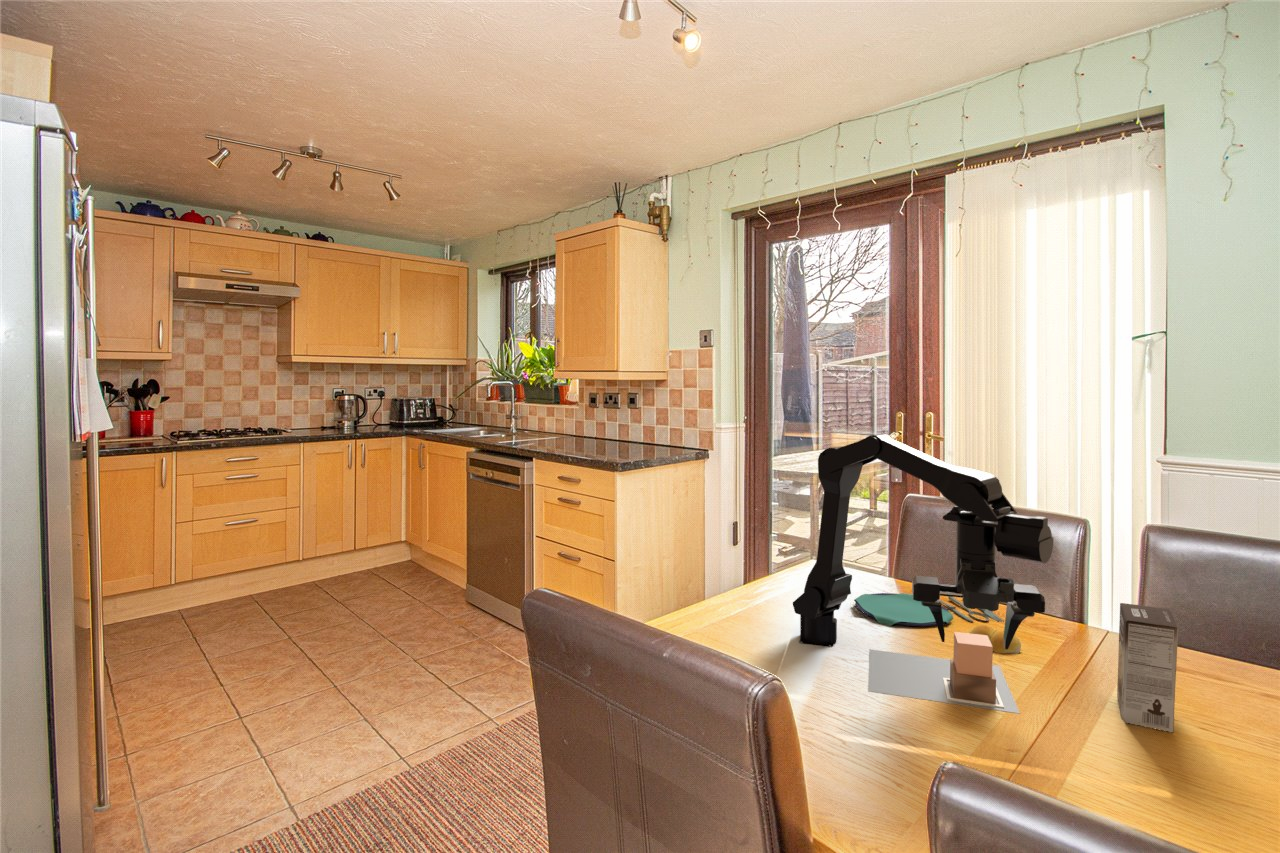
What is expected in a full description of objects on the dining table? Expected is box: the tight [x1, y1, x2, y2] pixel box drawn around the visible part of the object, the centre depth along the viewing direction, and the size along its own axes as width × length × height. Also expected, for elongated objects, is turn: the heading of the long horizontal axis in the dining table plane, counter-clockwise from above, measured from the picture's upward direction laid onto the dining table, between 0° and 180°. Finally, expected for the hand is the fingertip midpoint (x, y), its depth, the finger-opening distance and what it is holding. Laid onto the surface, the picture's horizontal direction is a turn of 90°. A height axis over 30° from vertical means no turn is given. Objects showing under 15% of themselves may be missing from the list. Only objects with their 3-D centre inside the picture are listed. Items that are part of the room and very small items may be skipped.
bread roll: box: [968, 624, 1022, 654], centre depth 125 cm, size 8×9×4 cm
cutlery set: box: [854, 592, 1005, 627], centre depth 144 cm, size 20×30×2 cm, turn 94°
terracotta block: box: [953, 631, 994, 677], centre depth 105 cm, size 5×5×5 cm
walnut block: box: [949, 658, 996, 704], centre depth 105 cm, size 6×6×4 cm
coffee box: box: [1116, 602, 1179, 733], centre depth 98 cm, size 9×6×16 cm
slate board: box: [867, 649, 1021, 714], centre depth 111 cm, size 22×18×1 cm
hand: (973, 644), depth 105 cm, fingers open, 9 cm apart
